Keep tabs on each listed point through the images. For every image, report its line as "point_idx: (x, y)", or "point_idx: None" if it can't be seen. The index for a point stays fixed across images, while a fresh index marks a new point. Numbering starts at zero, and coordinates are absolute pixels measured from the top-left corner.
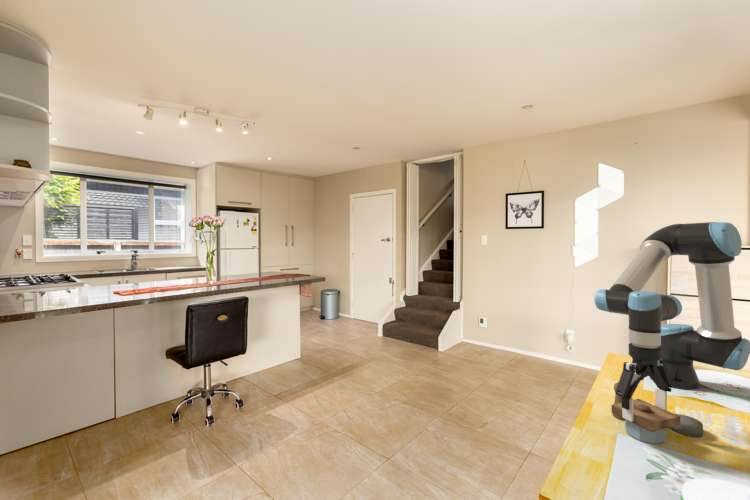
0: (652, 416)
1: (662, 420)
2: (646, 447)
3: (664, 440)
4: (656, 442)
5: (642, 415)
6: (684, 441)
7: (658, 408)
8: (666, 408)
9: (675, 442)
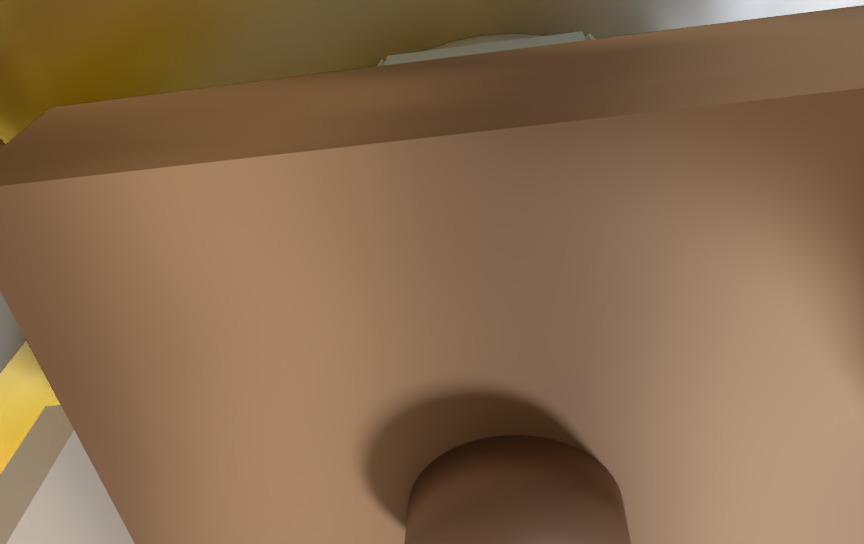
0: (624, 320)
1: (602, 127)
2: (790, 4)
3: (408, 56)
4: (582, 37)
5: (801, 391)
6: (91, 13)
7: (170, 503)
8: (3, 475)
9: (243, 20)
